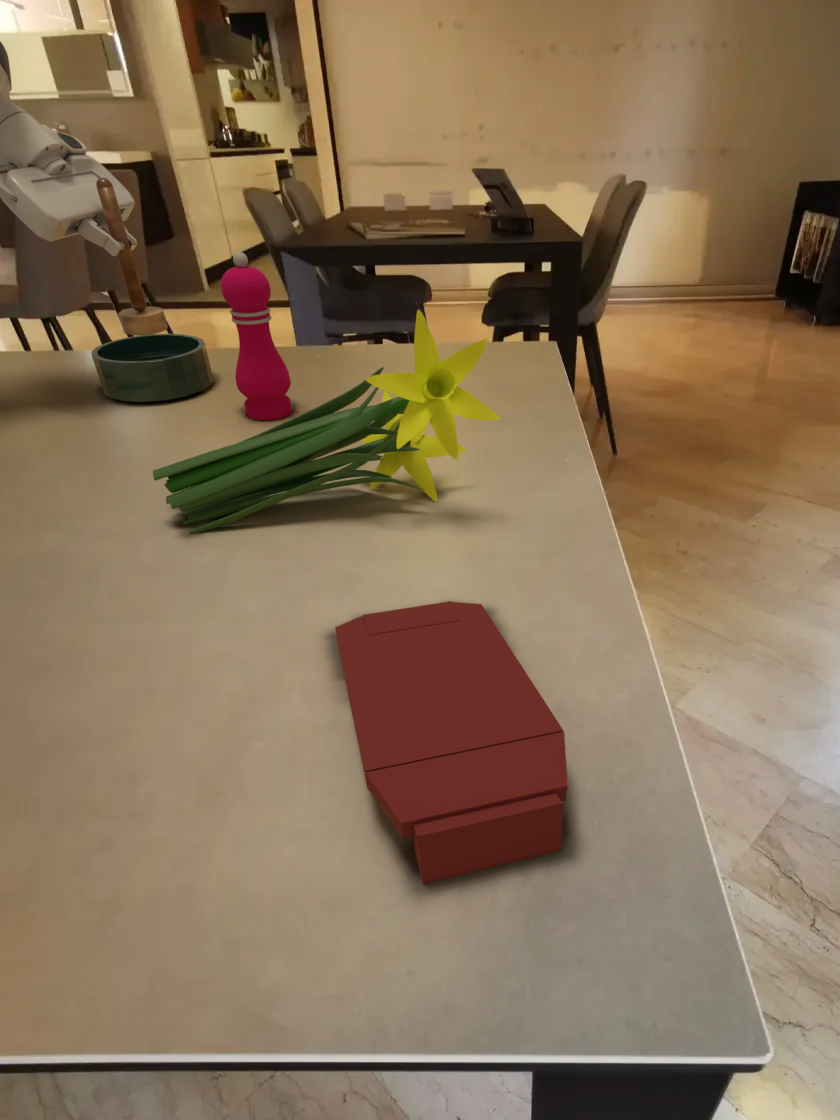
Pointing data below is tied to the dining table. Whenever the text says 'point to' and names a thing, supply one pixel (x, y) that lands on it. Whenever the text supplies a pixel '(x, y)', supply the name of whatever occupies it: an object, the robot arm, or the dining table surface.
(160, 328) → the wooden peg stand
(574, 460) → the dining table surface
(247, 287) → the pepper mill
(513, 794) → the carton
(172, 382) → the bowl
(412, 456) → the daffodil flowers
